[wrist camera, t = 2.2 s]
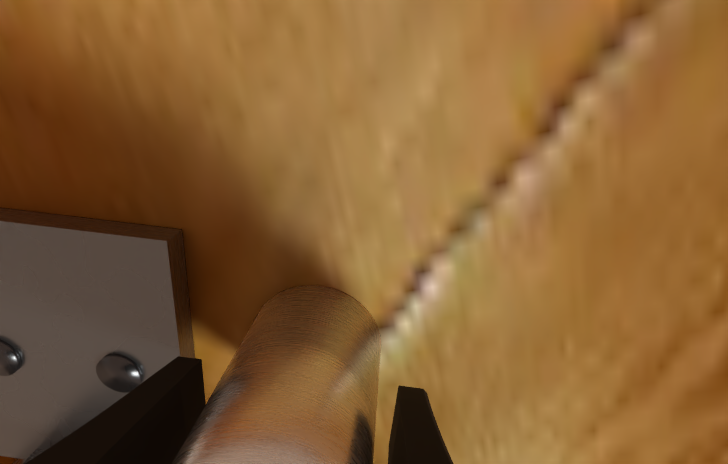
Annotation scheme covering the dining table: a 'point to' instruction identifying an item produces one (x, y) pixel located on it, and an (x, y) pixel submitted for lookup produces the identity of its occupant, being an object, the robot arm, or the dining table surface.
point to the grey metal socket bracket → (82, 320)
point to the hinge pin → (295, 387)
